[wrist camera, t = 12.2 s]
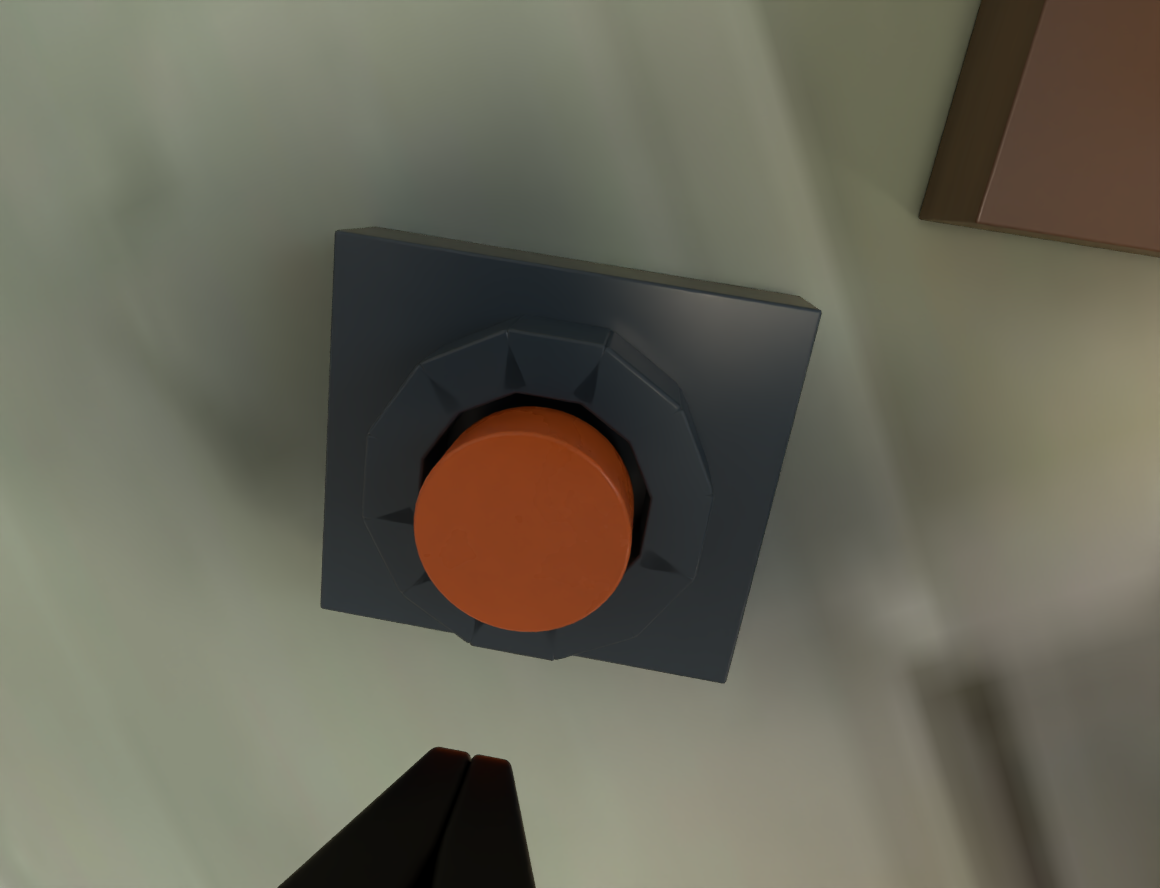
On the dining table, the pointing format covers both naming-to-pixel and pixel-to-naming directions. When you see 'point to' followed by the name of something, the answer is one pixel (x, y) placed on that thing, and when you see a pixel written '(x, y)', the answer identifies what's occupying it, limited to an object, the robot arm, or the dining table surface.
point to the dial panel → (1056, 125)
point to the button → (526, 520)
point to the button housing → (578, 387)
